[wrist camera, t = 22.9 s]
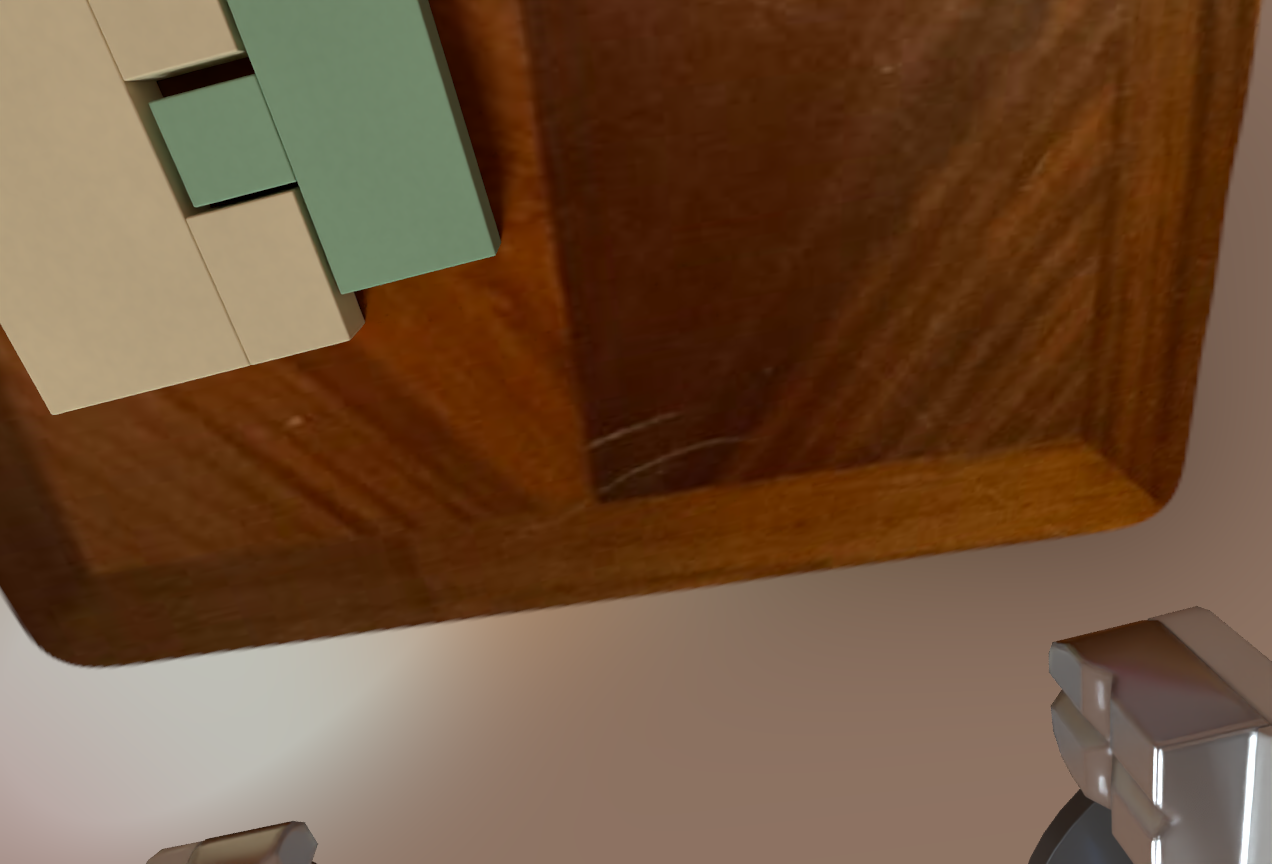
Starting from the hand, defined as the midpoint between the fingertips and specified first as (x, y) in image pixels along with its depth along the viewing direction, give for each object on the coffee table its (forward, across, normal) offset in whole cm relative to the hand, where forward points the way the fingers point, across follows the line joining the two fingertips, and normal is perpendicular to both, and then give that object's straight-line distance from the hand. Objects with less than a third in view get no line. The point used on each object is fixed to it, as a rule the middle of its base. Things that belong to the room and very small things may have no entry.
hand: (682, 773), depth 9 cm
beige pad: (+27, +16, -8) cm, 32 cm away
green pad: (+27, +9, -8) cm, 29 cm away
